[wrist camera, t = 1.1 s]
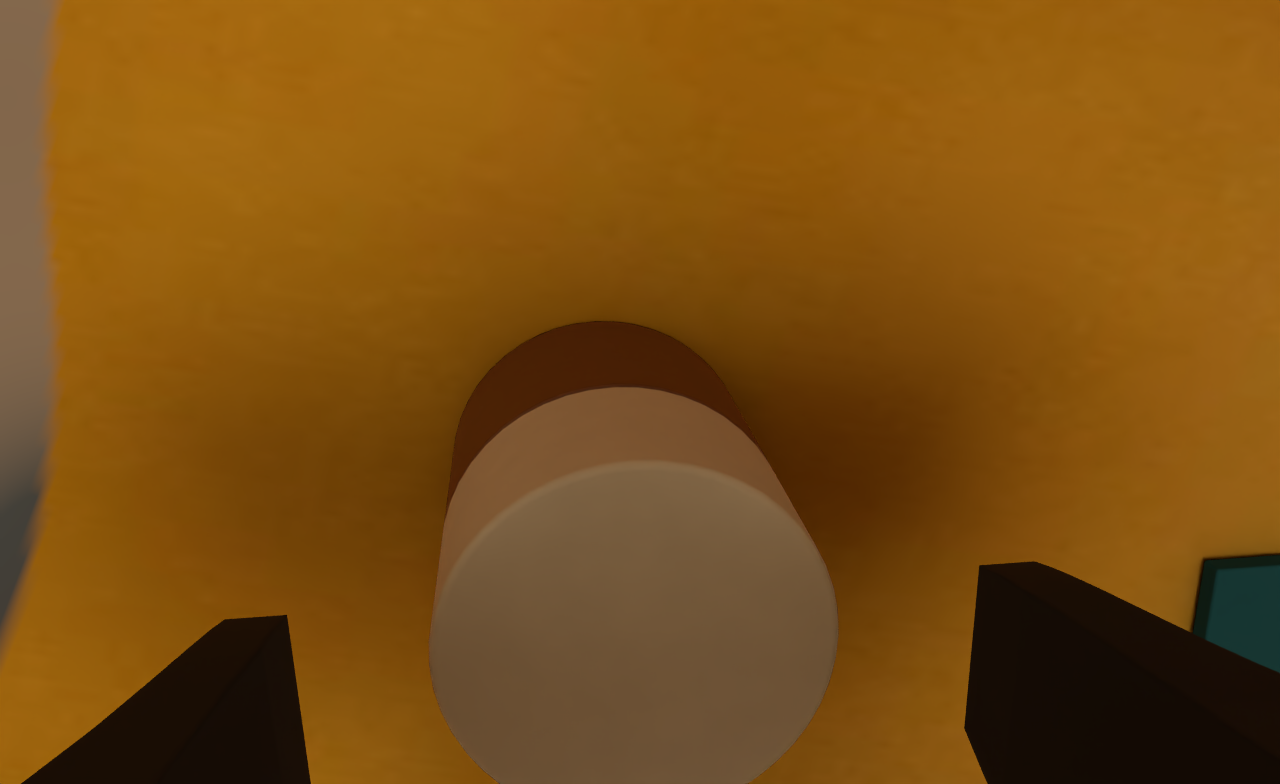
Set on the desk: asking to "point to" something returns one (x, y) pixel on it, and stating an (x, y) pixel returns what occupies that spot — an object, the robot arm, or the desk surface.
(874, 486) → the desk surface
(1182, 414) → the desk surface
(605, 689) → the two-tone cylinder
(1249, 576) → the flat teal panel
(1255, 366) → the desk surface
